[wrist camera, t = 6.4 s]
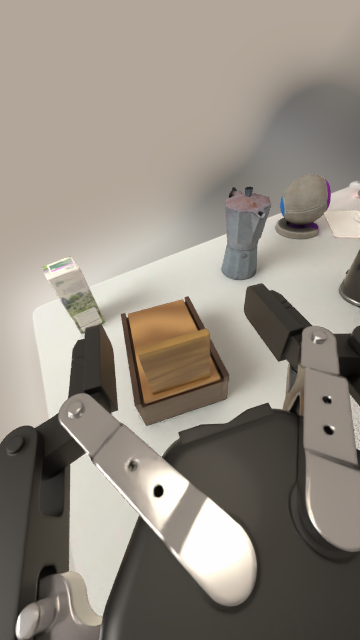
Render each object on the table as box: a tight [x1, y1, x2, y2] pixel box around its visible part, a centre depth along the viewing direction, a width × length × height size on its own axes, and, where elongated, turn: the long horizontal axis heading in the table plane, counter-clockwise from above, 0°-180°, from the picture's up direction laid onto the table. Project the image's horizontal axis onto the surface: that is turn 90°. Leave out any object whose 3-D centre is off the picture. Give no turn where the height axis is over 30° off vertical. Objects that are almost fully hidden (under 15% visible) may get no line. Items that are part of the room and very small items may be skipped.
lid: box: [128, 299, 220, 404], centre depth 33 cm, size 18×11×10 cm, turn 17°
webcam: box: [276, 175, 331, 239], centre depth 66 cm, size 13×13×15 cm
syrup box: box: [42, 257, 105, 333], centre depth 46 cm, size 6×6×14 cm
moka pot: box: [222, 187, 271, 280], centre depth 52 cm, size 10×15×20 cm, turn 19°
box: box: [121, 296, 229, 426], centre depth 38 cm, size 18×13×7 cm
